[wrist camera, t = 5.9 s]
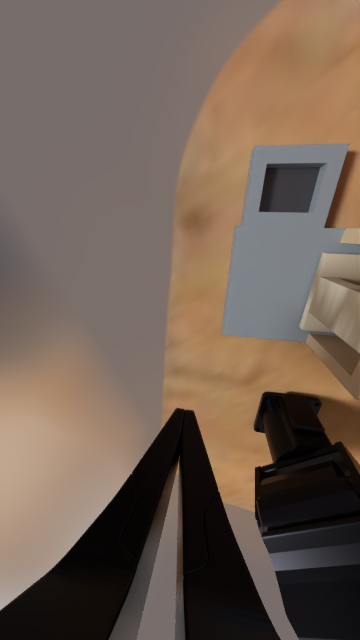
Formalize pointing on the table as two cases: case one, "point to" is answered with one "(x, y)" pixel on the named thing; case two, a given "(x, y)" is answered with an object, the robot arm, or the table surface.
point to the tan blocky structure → (335, 298)
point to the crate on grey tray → (288, 251)
